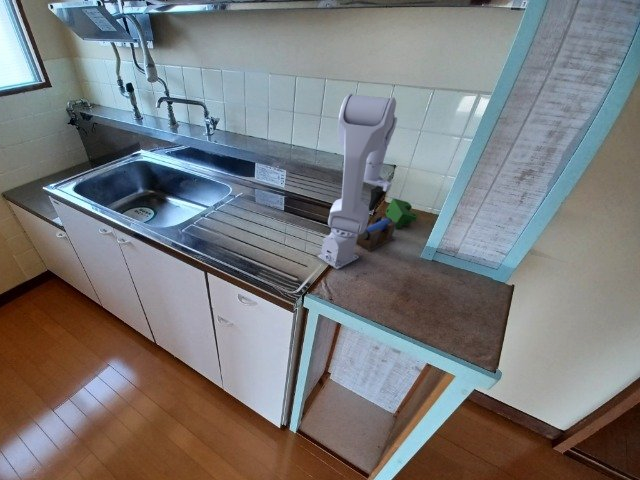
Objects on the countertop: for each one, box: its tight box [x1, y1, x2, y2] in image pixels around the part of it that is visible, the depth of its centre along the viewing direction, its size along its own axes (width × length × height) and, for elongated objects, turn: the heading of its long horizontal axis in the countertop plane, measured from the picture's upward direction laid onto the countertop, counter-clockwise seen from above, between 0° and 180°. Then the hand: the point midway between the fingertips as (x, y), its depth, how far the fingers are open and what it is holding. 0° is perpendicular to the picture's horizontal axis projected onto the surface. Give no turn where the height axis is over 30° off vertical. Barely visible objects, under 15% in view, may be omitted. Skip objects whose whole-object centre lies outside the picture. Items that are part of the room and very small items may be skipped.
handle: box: [360, 217, 392, 239], centre depth 100 cm, size 12×3×3 cm, turn 125°
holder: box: [356, 214, 397, 252], centre depth 102 cm, size 11×7×6 cm, turn 125°
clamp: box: [385, 198, 419, 229], centre depth 110 cm, size 12×6×9 cm, turn 170°
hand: (361, 205), depth 101 cm, fingers open, 7 cm apart
